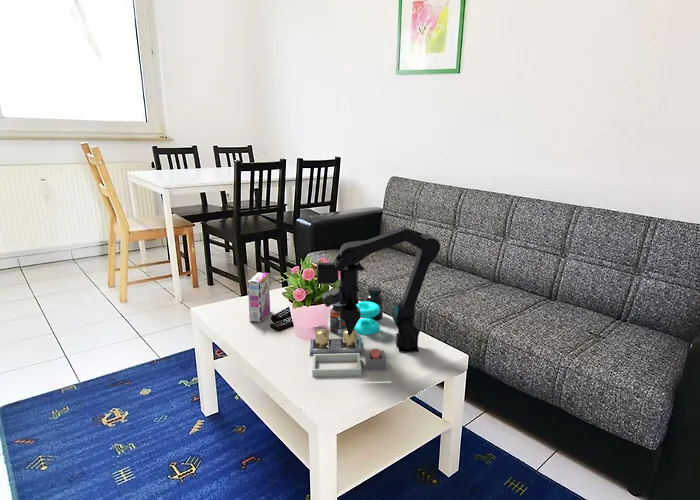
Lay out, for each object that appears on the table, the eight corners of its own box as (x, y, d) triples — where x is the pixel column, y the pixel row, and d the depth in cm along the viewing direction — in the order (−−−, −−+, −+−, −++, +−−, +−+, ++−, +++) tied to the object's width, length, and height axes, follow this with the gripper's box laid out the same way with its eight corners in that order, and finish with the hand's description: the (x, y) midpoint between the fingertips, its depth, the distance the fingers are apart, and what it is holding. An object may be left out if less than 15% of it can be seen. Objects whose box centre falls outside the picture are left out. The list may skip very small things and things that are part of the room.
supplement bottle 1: (344, 337, 158) (344, 307, 154) (328, 335, 159) (327, 306, 156) (348, 329, 163) (348, 301, 160) (332, 328, 164) (332, 299, 161)
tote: (359, 361, 142) (359, 353, 141) (361, 378, 133) (361, 369, 132) (313, 362, 141) (313, 354, 140) (312, 379, 132) (312, 370, 131)
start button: (379, 357, 139) (379, 348, 138) (380, 361, 136) (380, 353, 135) (370, 357, 139) (370, 348, 138) (371, 362, 136) (371, 353, 135)
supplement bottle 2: (377, 323, 168) (378, 293, 165) (361, 319, 172) (362, 289, 169) (386, 316, 174) (386, 287, 171) (370, 312, 178) (371, 284, 174)
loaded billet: (329, 344, 150) (328, 328, 148) (329, 351, 146) (328, 334, 144) (316, 345, 150) (315, 328, 148) (315, 351, 146) (315, 335, 144)
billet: (342, 344, 150) (342, 328, 149) (355, 344, 151) (356, 328, 149) (343, 351, 146) (343, 334, 144) (356, 350, 146) (356, 334, 145)
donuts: (383, 302, 162) (375, 313, 153) (383, 327, 165) (374, 339, 156) (357, 298, 166) (348, 308, 157) (357, 323, 168) (348, 334, 160)
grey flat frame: (360, 342, 154) (360, 336, 153) (362, 357, 144) (362, 350, 143) (311, 343, 153) (310, 337, 152) (309, 358, 143) (309, 351, 143)
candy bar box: (262, 323, 168) (259, 282, 164) (249, 322, 169) (246, 281, 164) (271, 311, 179) (269, 272, 174) (259, 310, 180) (256, 271, 175)
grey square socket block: (383, 362, 141) (384, 350, 140) (386, 372, 136) (386, 360, 134) (365, 362, 141) (365, 351, 140) (366, 373, 135) (366, 361, 134)
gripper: (324, 273, 150) (324, 316, 155) (323, 294, 133) (323, 341, 137) (357, 273, 151) (356, 315, 155) (360, 293, 133) (360, 341, 137)
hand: (349, 327), depth 146 cm, fingers open, 9 cm apart
